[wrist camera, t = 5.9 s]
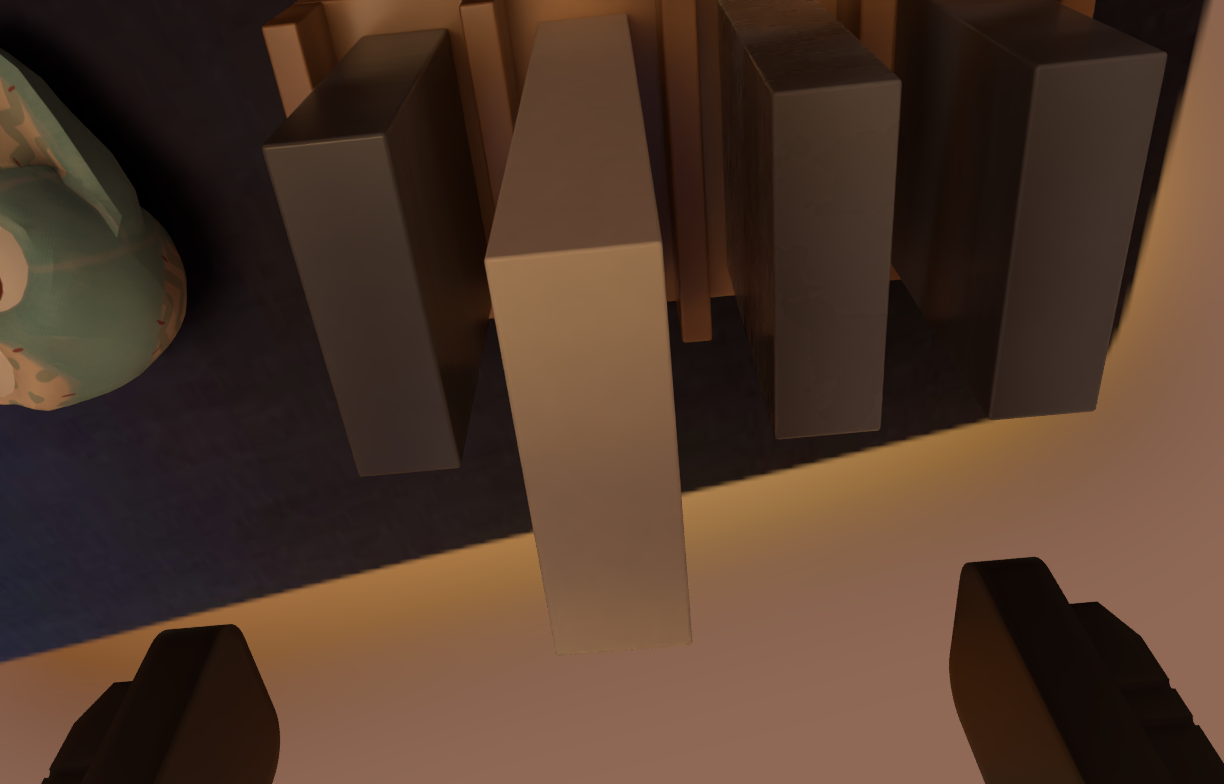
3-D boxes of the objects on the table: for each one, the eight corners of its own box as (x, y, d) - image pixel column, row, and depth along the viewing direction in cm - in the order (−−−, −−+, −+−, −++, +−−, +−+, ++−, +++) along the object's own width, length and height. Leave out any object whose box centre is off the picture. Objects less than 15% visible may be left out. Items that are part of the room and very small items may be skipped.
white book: (626, 12, 24) (662, 241, 12) (648, 272, 27) (692, 646, 15) (537, 21, 24) (482, 258, 12) (571, 280, 27) (556, 657, 16)
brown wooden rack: (1042, -84, 24) (1276, -16, 15) (999, 255, 28) (1162, 442, 20) (300, -3, 24) (154, 102, 16) (380, 314, 29) (300, 517, 21)
